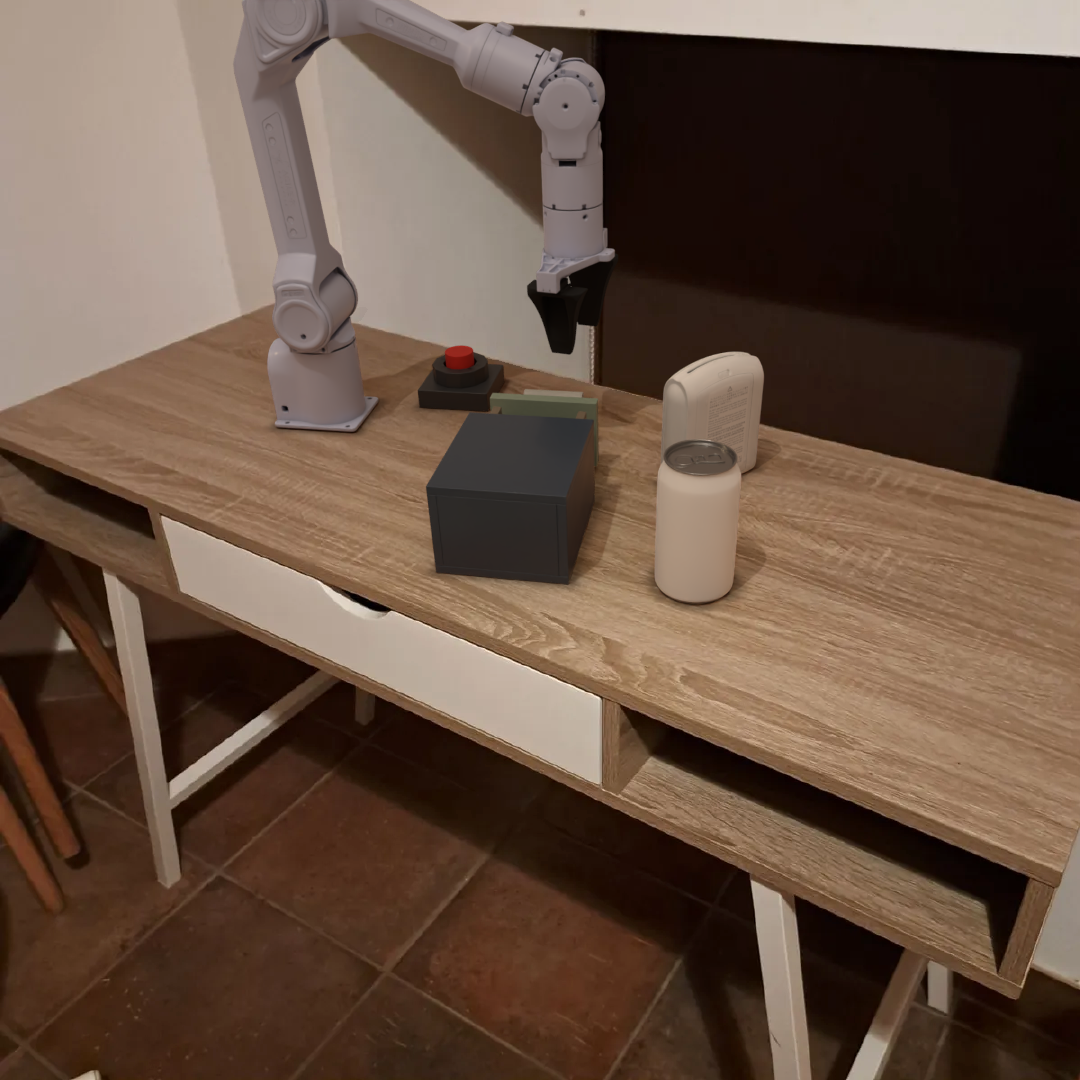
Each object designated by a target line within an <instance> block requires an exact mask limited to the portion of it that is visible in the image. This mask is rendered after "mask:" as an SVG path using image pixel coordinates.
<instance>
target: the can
mask: <svg viewBox="0 0 1080 1080" xmlns="http://www.w3.org/2000/svg"><path fill="white" fill-rule="evenodd" d="M737 459H738V457H737V454H736V452H735V451H734V450H733V449H732V448H731V447H729V446H727V445H725V444H723V443H720V442H717V441H713V440H706V439H691V440H684V441H680V442H677V443H675V444H673V445H671V446H669V447H668V448H667V449H666V450H665V452H664V461H663V462H662V464H661V463H660V465H659V467H658V471H657V477H656V502H655V503H656V506H655V535H654V536H655V540H654V581H655V584H656V586H657V587H658V589H659V590H660V591H661V592H662V593H663V594H664V595H665V596H667V597H668V598H669V599H671V600H674V601H675V602H680V603H684V604H687V605H688V604H690V605H702V604H703V605H704V604H709V603H713V602H715V601H717V600H720V599H721V598H723V597H725V595H727V594H728V592H730V591H731V589H732V587H733V583H734V577H735V565H736V555H737V543H738V531H739V518H740V505H741V504H740V503H741V493H742V492H741V491H742V488H741V487H742V474H741V472H740V469H739V467H738V464H737Z"/></svg>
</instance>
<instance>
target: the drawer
mask: <svg viewBox="0 0 1080 1080" xmlns="http://www.w3.org/2000/svg"><path fill="white" fill-rule="evenodd" d="M489 409H490V412H489V414H507V415H524V416H541V417H559V418H576V419H593V420H594V467H598V464H599V461H600V457H599V456H600V452H599V450H600V448H599V447H600V445H599V443H600V441H599V398H596V397H585V393H584V391H574V390H573V391H571V390H555V389H554V390H553V389H552V390H551V389H536V388H534V389H533V388H525V389H524V390H523V394H521V393H505V392H503V393H502V392H498V393H492V395H491V397H490V408H489Z"/></svg>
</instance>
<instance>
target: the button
mask: <svg viewBox="0 0 1080 1080" xmlns="http://www.w3.org/2000/svg"><path fill="white" fill-rule="evenodd" d="M473 352H474V348H473V347H472V346H469V345H463V344H462V345H454V346H450V347H448V348H446V349H445V350H444V355H445V359H446V367H447V368H450V369H465V368H469V367H472V366H474V353H473Z"/></svg>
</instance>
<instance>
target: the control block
mask: <svg viewBox="0 0 1080 1080" xmlns="http://www.w3.org/2000/svg"><path fill="white" fill-rule="evenodd" d="M473 353H474V366H472V367H469V368H465V369H450V368H447V367H446V359H445V354H443V355H441V356H438V357H436V358H435V359H434V360H433V362H432V364H431V366H432V369H431V371H429V373H428V375H427V376H426V378H425V379H424V380H423V382H422V383H421V385H420V386H419V387H418V389H417V396H418V397H417V398H418V407H419V408H420V409H437V410H438V409H439V410H453V411H454V410H456V411H469V412H489V410H490V409H491V408H490V397H491V395H492V393H500V390H501V389H502V387H503V386H504V383H505V368H504V367H505V366H504V364H497V363H495V364H494V363H489V360H488V359H487V357H486V356H485V355H484V354H481V353H478V352H474V351H473Z"/></svg>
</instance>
